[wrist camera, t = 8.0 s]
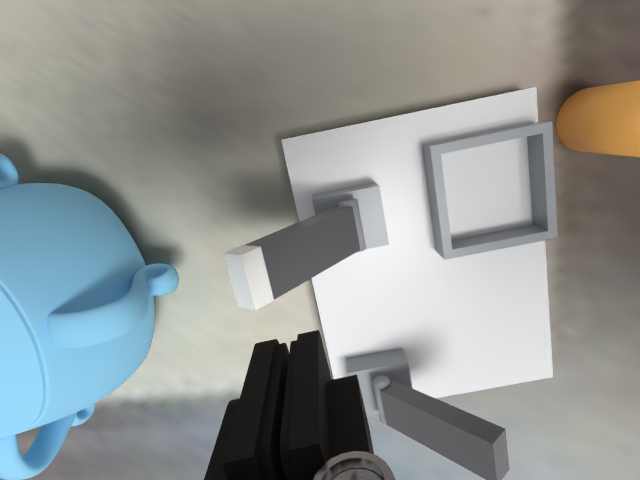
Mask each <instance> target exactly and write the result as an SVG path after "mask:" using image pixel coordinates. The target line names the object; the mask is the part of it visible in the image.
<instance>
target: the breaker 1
mask: <svg viewBox="0 0 640 480" xmlns="http://www.w3.org/2000/svg"><path fill="white" fill-rule="evenodd" d="M365 249H366V244H365V238H364V233H363V227H362V221H361V216H360V210H359V205H358V199H348V200H344V201H341V202H339V207H333V208H331V209H329V210H326V211H324V212H321V213H319V214H317V215H314V216H312V217H310V218H307V219H305V220H303V221H300V222H298V223H295V224H293V225H291V226H288V227H286V228H284V229H281V230H279V231H277V232H274V233H272V234H269V235H267V236H265V237H262V238H260V239H258V240H255V241H253V242H251V243H248V244H246V245H242V246H240V247H237V248H235V249H233V250H230V251H228V252H226V253H223V254H224V258H225V261H226V265H227V268H228V272H229V276H230V279H231V283H232V287H233V290H234V294H235V297H236V301H237V305H238V306H239V307H243V308H246V309H250V310H254V311H256V310H258V309H260V308H261V307H263V306H265V305H267V304H268V303H270V302H272V301H274V299H276V298H278V297H279V296H281V295H283V294H285V293H286V292H288V291H290V290H292V289H293V288H295V287H297V286H299V285H300V284H302V283H304V282H306V281H307V280H309V279H311V278H313V277H314V276H316V275H318V274H320V273H321V272H323V271H325V270H326V269H328V268H330V267H332V266H333V265H335V264H337V263H339V262H340V261H342V260H344V259H346V258H347V257H349V256H351V255H353V254H354V253H357V252H361V251H364V250H365Z"/></svg>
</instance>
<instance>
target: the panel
mask: <svg viewBox="0 0 640 480" xmlns="http://www.w3.org/2000/svg"><path fill="white" fill-rule="evenodd" d="M281 142H282V146H283V151H284V155H285V160H286V165H287V169H288V174H289V178H290V183H291V187H292V192H293V196H294V201H295V205H296V210H297V215H298V219H299V222H300V221H303V220H305V219H307V218H310V217H312V216H314V215H317V214H319V213H321V212H324V211H326V210H329V209H331V208H333V207H339V202H341V201H344V200H348V199H358V205H359V210H360V216H361V221H362V227H363V233H364V238H365V244H366V249H365V250H364V251H361V252H357V253H354V254H353V255H351V256H349V257H347V258H346V259H344V260H342V261H340V262H339V263H337V264H335V265H333V266H332V267H330V268H328V269H326V270H325V271H323V272H321V273H320V274H318V275H316V276H314V277H313V278H312V283H313V287H314V292H315V296H316V301H317V306H318V310H319V315H320V319H321V324H322V328H323V333H324V337H325V342H326V346H327V351H328V356H329V360H330V365H331V369H332V374H333V378H334V379H337V378H342V377H347V376H352V375H357V377H358V380H359V385H360V389H361V393H362V398H363V402H364V406H365V411H366V416H367V417H371V416H377V415H379V412H378V407H377V401H376V396H375V391H374V386H373V379H374V378H375V377H377V376H380V375H384V376H387V377H389V379H390V383H391V382H392V381H393V380H394V381H396V382H399V383H401V384H403V385H406V386H408V387H410V388H412V389H415V390H417V391H419V392H422V393H424V394H426V395H429V396H431V397H433V398H440V397H445V396H451V395H456V394H462V393H467V392H473V391H479V390H484V389H490V388H495V387H501V386H506V385H512V384H518V383H523V382H529V381H534V380H540V379H545V378H551V377H553V369H552V351H551V334H550V317H549V299H548V282H547V264H546V247H545V240H550V239H555V238H558V232H557V211H556V191H555V170H554V150H553V129H552V121H551V122H538V108H537V90H536V87H533V88H527V89H522V90H517V91H513V92H508V93H503V94H498V95H493V96H488V97H484V98H479V99H474V100H469V101H464V102H460V103H455V104H450V105H445V106H440V107H436V108H431V109H426V110H421V111H416V112H412V113H407V114H402V115H397V116H392V117H388V118H383V119H378V120H373V121H368V122H364V123H359V124H354V125H349V126H344V127H340V128H335V129H330V130H325V131H320V132H316V133H311V134H306V135H301V136H296V137H291V138H287V139H282V140H281Z"/></svg>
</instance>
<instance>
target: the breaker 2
mask: <svg viewBox="0 0 640 480" xmlns="http://www.w3.org/2000/svg"><path fill="white" fill-rule="evenodd" d="M373 386H374V391H375V396H376V401H377V407H378V412H379V417H380V421H381V422H382V423H383V424H387V425H388V426H390V427H392V428H394V429H396V430H397V431H399V432H401V433H403V434H405V435H406V436H408V437H410V438H412V439H414V440H415V441H417V442H419V443H421V444H423V445H425V446H426V447H428V448H430V449H432V450H434V451H435V452H437V453H439V454H441V455H443V456H444V457H446V458H448V459H450V460H452V461H454V462H455V463H457V464H459V465H461V466H463V467H464V468H466V469H468V470H470V471H472V472H473V473H475V474H477V475H479V476H481V477H483V478H484V479H486V480H502V478H503V477H504V476H505V474H506V473H507V472H508V470H509V462H508V452H507V441H506V431H505V429H504V428H502V427H500V426H497V425H495V424H493V423H490V422H488V421H486V420H484V419H481V418H479V417H477V416H474V415H472V414H470V413H468V412H465V411H463V410H461V409H458V408H456V407H454V406H451V405H449V404H447V403H445V402H442V401H440V400H438V399H435V398H433V397H431V396H429V395H426V394H424V393H422V392H419V391H417V390H415V389H412V388H410V387H408V386H406V385H403V384H401V383H399V382H396V381H394V380H393V381H392V382H391V383H390V379H389V377H387V376H384V375H380V376H377V377H375V378H374V379H373Z"/></svg>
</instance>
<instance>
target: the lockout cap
mask: <svg viewBox="0 0 640 480" xmlns="http://www.w3.org/2000/svg"><path fill="white" fill-rule="evenodd" d="M556 131H557V135H558V137H559V139H560V141H561V142H562V143H563V144H564V145H565V146H566V147H567V148H569V149H571V150H573V151H578V152H588V153H599V154H611V155H622V156H633V157H640V80H638V81H632V82H625V83H618V84H611V85H605V86H598V87H591V88H585V89H582V90H579V91H577V92H575V93H574V94H572V95H571V96H570V97H569V98H568V99H567V100H566V101H565V102H564V103H563V105H562V106H561V108H560V110H559V113H558V116H557V120H556Z"/></svg>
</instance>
